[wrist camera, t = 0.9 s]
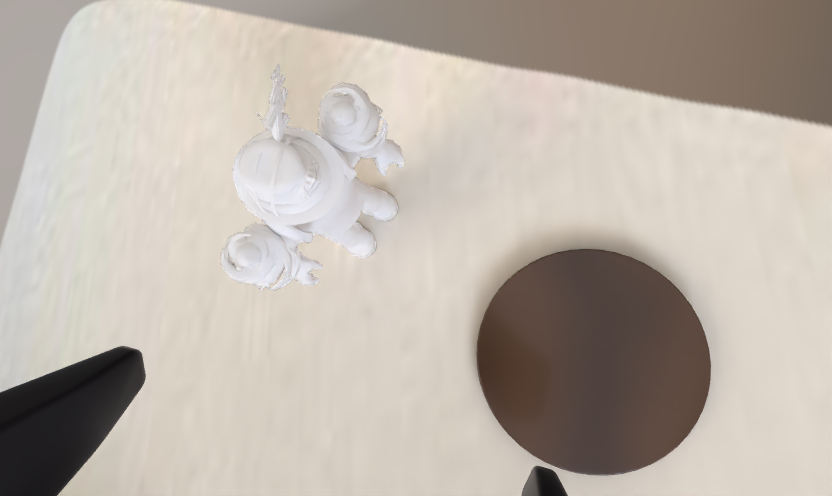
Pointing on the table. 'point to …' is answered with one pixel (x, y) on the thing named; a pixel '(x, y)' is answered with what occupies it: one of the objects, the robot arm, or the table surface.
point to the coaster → (593, 362)
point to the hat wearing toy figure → (308, 186)
